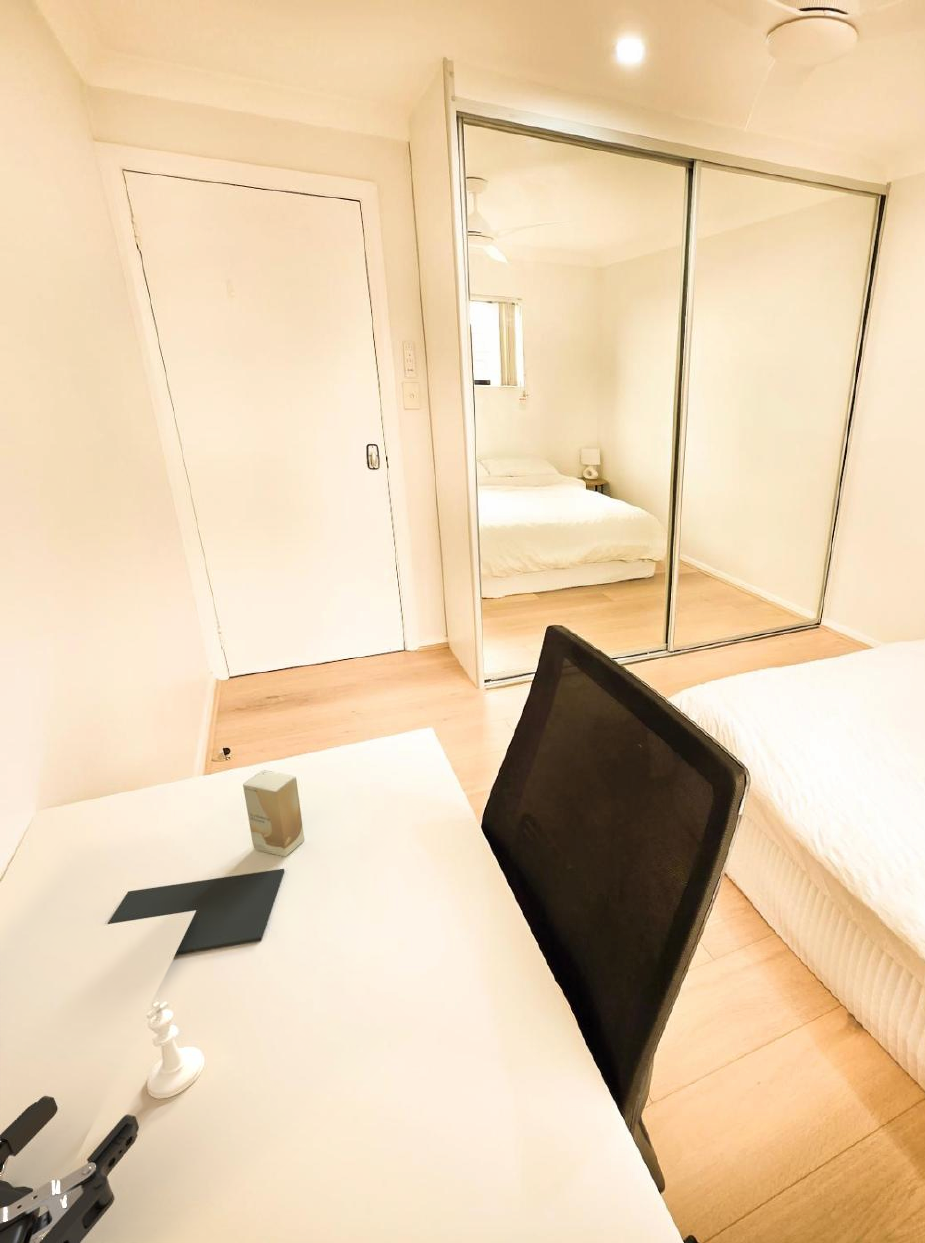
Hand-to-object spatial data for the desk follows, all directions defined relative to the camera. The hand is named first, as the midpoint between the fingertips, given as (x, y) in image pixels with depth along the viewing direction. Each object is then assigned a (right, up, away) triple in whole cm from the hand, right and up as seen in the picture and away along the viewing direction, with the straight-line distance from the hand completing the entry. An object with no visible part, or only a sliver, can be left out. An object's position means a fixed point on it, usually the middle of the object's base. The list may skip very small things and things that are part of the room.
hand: (93, 1111), depth 55 cm
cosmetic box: (-7, +8, +42) cm, 43 cm away
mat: (-11, +4, +28) cm, 30 cm away
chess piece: (+1, -3, +9) cm, 10 cm away
